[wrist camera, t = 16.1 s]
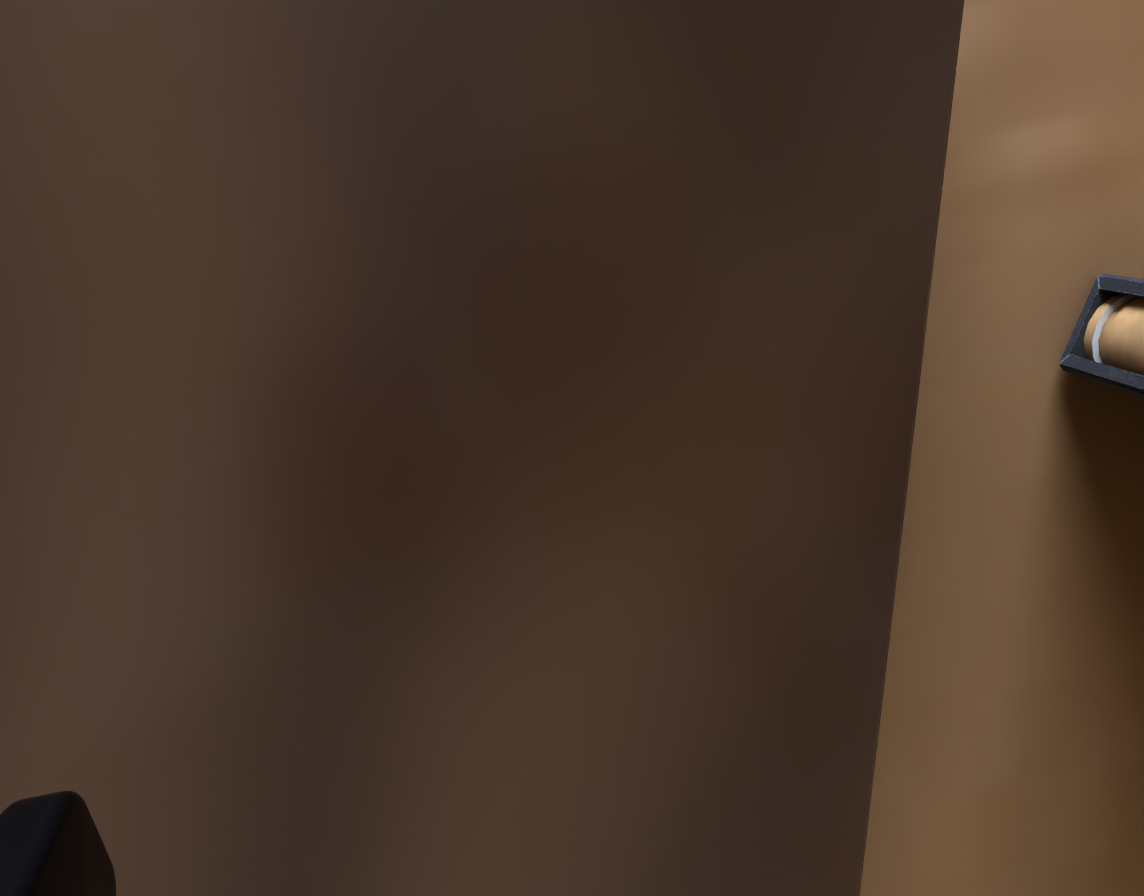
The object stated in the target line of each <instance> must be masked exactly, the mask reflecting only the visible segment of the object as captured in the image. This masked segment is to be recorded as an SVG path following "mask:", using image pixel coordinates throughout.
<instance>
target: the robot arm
mask: <svg viewBox="0 0 1144 896" xmlns="http://www.w3.org/2000/svg"><path fill="white" fill-rule="evenodd" d="M0 896H116V879H115V873H114V868H113V865H112V862H111V859H110V857H109V855H108V853H107V850H106V848H105V846H104V843H103V841H102V839H101V837H100V834H99V832H98V830H97V828H96V825H95V823H94V821H93V819H92V816H91V814H90V812H89V809H88V807H87V805H86V803H85V801H84V800H83V798H82V797H81V796H80V795H79V794H78V793H76V792H74V791H61V792H55V793H50V794H45V795H40V796H35V797H30V798H25V799H21V800H18V801H16V802H14V803H13V804H11V805H10V806H8V807H7V808H6V809H5V810H4V811H3V812H2V813H1V814H0Z"/></svg>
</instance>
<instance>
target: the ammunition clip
mask: <svg viewBox="0 0 1144 896" xmlns="http://www.w3.org/2000/svg"><path fill="white" fill-rule="evenodd" d="M1059 364H1060V366H1061V368H1062V369H1063V371H1066V372H1069V373H1072V374H1075V375H1078V376H1081V377H1084V378H1087V379H1090V380H1093V381H1096V382H1099V383H1102V384H1105V385H1108V386H1111V387H1114V388H1117V389H1120V390H1123V391H1126V392H1129V393H1132V394H1135V395H1138V396H1141V397H1144V279H1138V278H1130V277H1123V276H1116V275H1109V274H1102V275H1099V276H1098V277H1097V279H1096V282H1095V284H1094V286H1093V288H1092V291H1091V293H1090V295H1089V297H1088V300H1087V302H1086V304H1085V306H1084V309H1083V311H1082V313H1081V315H1080V318H1079V320H1078V322H1077V324H1076V327H1075V329H1074V331H1073V334H1072V336H1071V338H1070V340H1069V343H1068V345H1067V347H1066V349H1065V352H1064V354H1063V356H1062V358H1061V361H1060V363H1059Z"/></svg>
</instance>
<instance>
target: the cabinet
mask: <svg viewBox="0 0 1144 896" xmlns="http://www.w3.org/2000/svg"><path fill="white" fill-rule="evenodd" d="M963 5H964V0H0V814H1V813H2V812H3V811H4V810H5V809H6V808H7V807H8V806H10V805H11V804H13V803H14V802H16V801H18V800H21V799H25V798H30V797H35V796H40V795H45V794H50V793H55V792H61V791H74V792H76V793H78V794H79V795H80V796H81V797H82V798H83V800H84V801H85V803H86V805H87V807H88V809H89V812H90V814H91V816H92V819H93V821H94V823H95V825H96V828H97V830H98V832H99V834H100V837H101V839H102V841H103V843H104V846H105V848H106V850H107V853H108V855H109V857H110V859H111V862H112V865H113V868H114V873H115V879H116V896H859V895H860V887H861V878H862V870H863V861H864V852H865V844H866V835H867V827H868V818H869V810H870V801H871V793H872V784H873V775H874V767H875V758H876V750H877V741H878V733H879V724H880V716H881V707H882V698H883V690H884V681H885V673H886V664H887V656H888V647H889V639H890V630H891V621H892V613H893V604H894V596H895V587H896V579H897V570H898V562H899V553H900V544H901V536H902V527H903V519H904V510H905V502H906V493H907V485H908V476H909V467H910V459H911V450H912V442H913V433H914V425H915V416H916V408H917V399H918V390H919V382H920V373H921V365H922V356H923V348H924V339H925V331H926V322H927V313H928V305H929V296H930V288H931V279H932V271H933V262H934V254H935V245H936V236H937V228H938V219H939V211H940V202H941V194H942V185H943V177H944V168H945V159H946V151H947V142H948V134H949V125H950V117H951V108H952V100H953V91H954V82H955V74H956V65H957V57H958V48H959V40H960V31H961V23H962V14H963Z"/></svg>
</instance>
